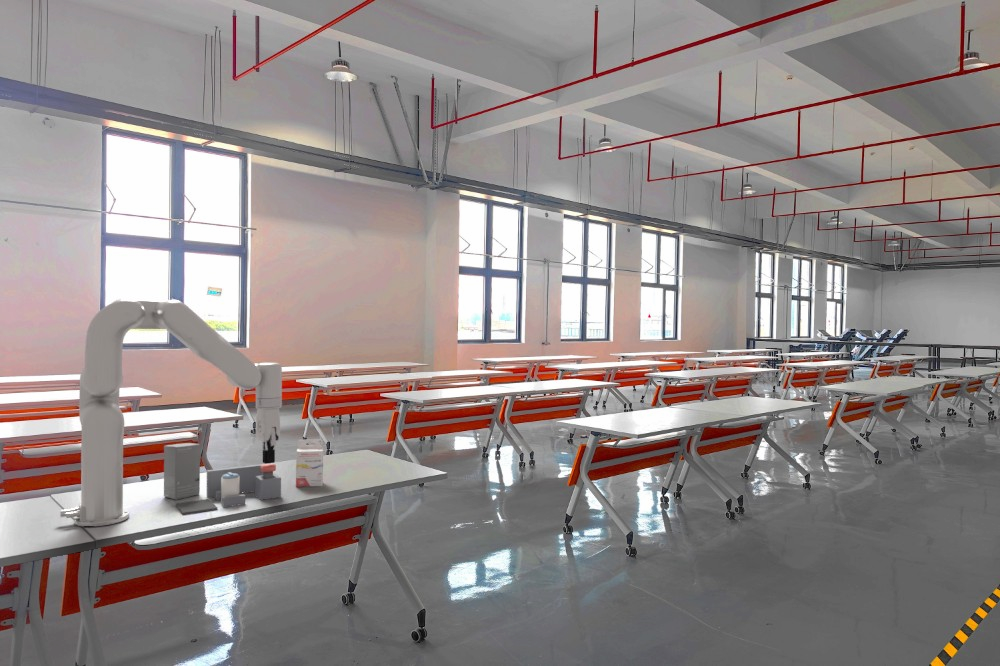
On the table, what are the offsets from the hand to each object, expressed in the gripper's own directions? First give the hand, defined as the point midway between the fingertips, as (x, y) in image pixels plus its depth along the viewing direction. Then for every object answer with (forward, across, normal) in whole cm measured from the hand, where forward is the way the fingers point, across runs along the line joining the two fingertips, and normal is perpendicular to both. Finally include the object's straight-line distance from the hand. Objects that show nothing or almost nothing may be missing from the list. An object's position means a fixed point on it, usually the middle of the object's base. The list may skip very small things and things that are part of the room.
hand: (268, 462), depth 199 cm
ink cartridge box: (+11, -7, +15) cm, 20 cm away
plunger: (+7, 0, 0) cm, 7 cm away
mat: (+10, +1, -21) cm, 23 cm away
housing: (+10, -2, -6) cm, 12 cm away
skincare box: (+10, -15, -22) cm, 28 cm away
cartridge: (+10, 0, -11) cm, 15 cm away
